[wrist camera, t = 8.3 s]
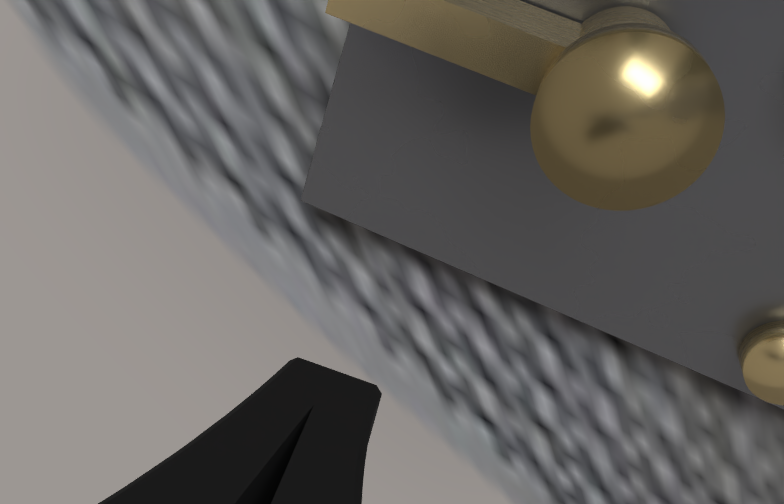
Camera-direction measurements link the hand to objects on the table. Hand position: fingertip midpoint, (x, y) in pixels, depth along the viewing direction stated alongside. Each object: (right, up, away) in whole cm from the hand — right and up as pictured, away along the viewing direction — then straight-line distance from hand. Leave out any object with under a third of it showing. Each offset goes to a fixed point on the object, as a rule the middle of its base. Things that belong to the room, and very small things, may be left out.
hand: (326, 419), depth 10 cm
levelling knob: (+4, +7, +5) cm, 10 cm away
